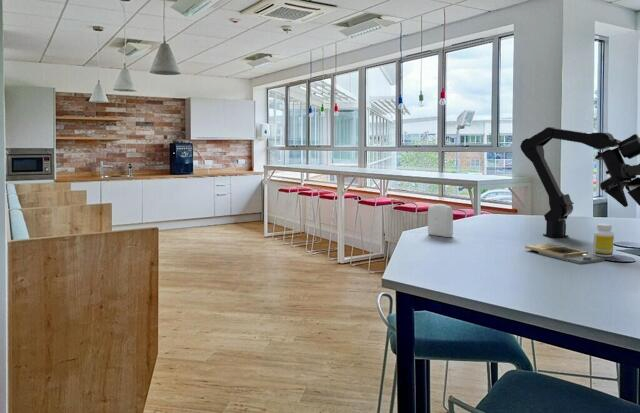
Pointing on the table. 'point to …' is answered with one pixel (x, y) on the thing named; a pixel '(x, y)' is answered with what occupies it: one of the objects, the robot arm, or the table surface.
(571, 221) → the table surface
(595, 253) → the supplement bottle
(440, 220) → the photo printer
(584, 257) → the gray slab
